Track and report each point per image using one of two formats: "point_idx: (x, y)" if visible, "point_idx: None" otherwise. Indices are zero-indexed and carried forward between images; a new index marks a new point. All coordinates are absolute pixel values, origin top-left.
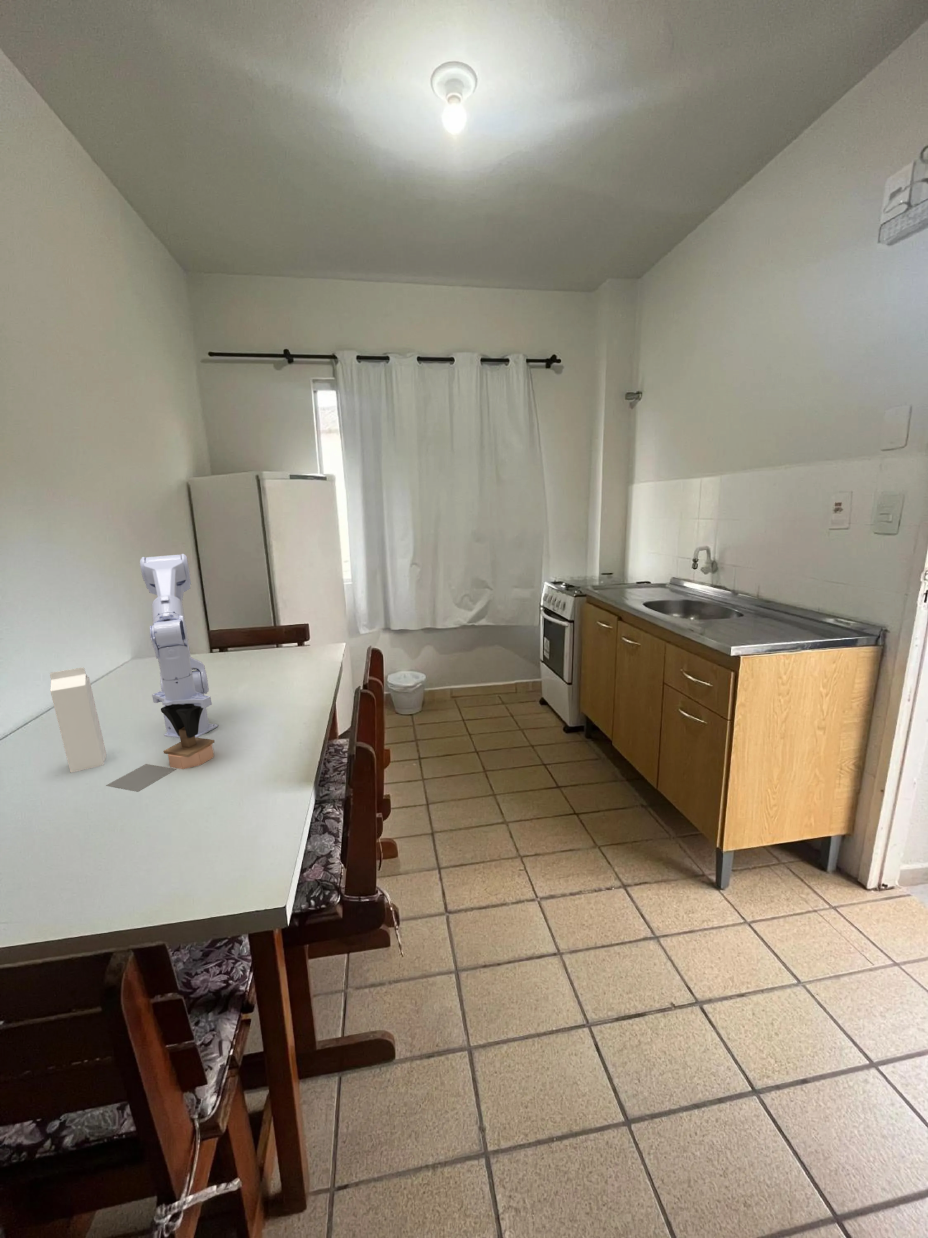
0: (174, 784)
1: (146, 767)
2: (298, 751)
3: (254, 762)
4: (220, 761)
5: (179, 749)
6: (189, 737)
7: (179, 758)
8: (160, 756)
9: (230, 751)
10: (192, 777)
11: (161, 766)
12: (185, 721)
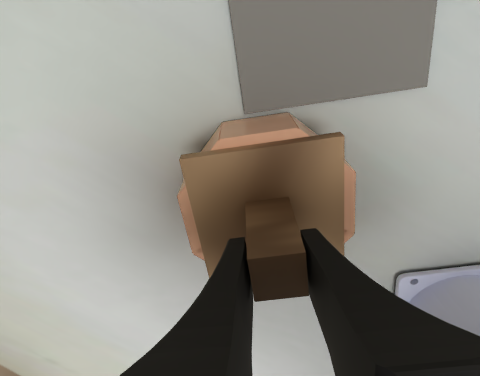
0: (137, 29)
1: (394, 65)
2: (2, 332)
3: (44, 253)
4: (156, 218)
5: (274, 176)
6: (234, 238)
7: (226, 136)
8: (424, 158)
9: (193, 270)
10: (129, 101)
11: (332, 100)
12: (203, 311)
